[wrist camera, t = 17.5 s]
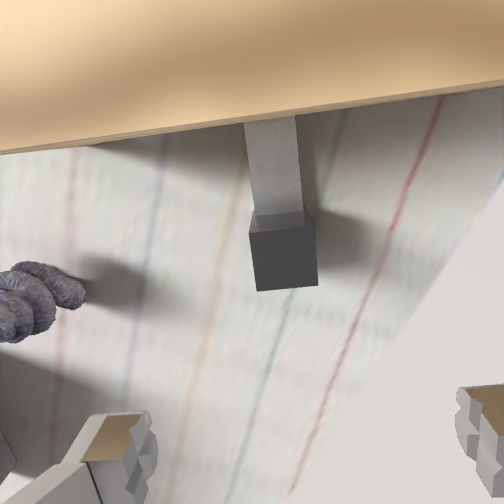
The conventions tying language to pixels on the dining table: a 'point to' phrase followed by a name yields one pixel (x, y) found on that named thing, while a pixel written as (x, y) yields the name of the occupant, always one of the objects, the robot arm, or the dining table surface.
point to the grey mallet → (278, 208)
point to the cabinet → (227, 62)
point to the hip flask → (5, 458)
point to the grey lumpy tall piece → (34, 299)
